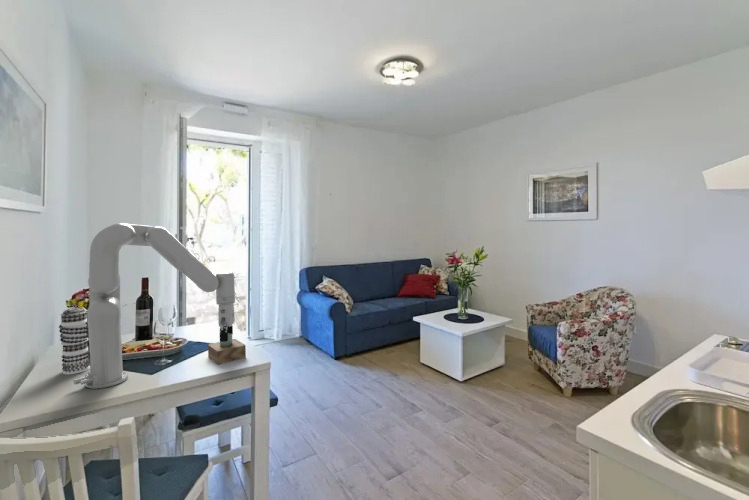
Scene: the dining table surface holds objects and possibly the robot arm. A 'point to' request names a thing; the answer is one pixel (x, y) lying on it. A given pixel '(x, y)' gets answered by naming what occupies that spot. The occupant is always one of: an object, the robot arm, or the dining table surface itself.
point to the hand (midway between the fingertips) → (226, 337)
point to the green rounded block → (227, 343)
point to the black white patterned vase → (74, 341)
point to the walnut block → (226, 352)
